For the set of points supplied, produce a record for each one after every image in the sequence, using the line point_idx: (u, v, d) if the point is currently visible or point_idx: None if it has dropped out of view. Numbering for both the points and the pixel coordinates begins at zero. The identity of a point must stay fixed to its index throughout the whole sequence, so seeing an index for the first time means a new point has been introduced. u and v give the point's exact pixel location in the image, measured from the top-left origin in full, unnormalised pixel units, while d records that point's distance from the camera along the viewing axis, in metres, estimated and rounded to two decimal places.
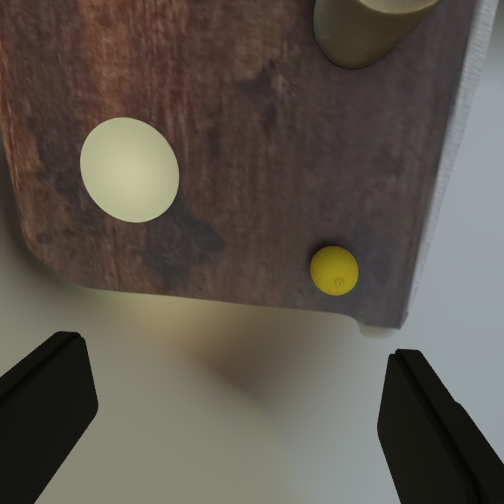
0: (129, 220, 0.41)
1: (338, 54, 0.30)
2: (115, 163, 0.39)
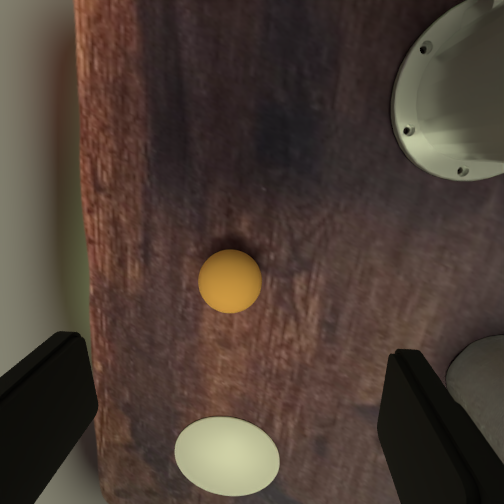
0: (218, 493, 0.39)
1: None
2: (213, 450, 0.37)
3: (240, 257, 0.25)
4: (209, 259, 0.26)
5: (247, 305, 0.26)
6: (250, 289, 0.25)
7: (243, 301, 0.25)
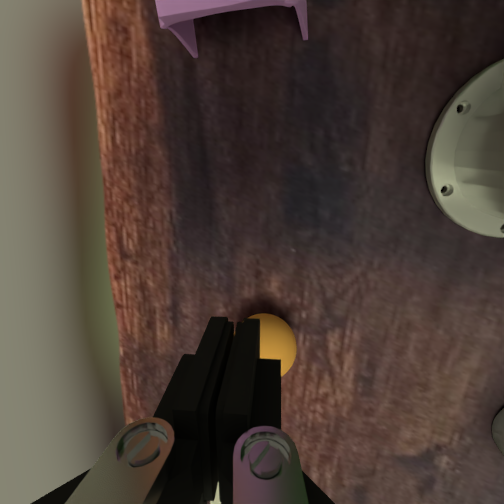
0: None
1: None
2: None
3: (274, 325, 0.25)
4: None
5: (283, 374, 0.25)
6: (286, 360, 0.24)
7: None
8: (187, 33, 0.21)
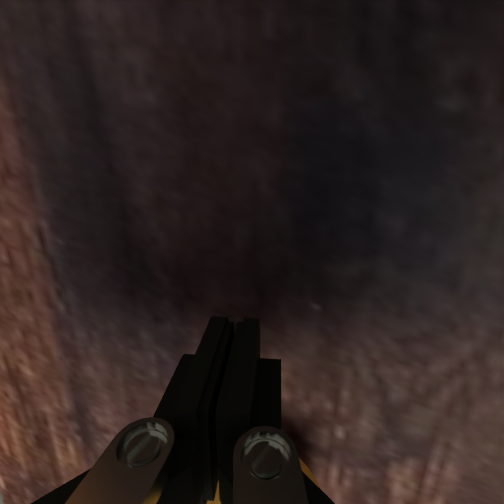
0: None
1: None
2: None
3: None
4: None
5: None
6: None
7: None
8: None
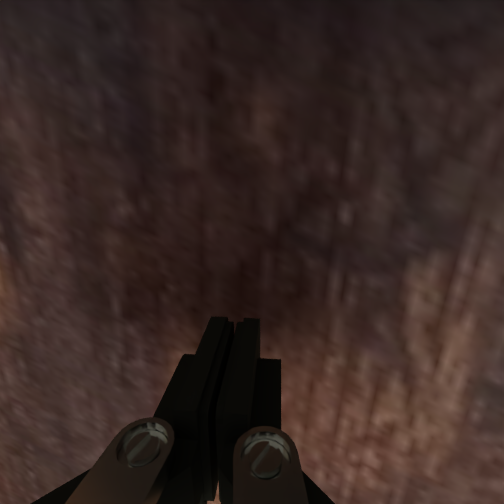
0: None
1: None
2: None
3: None
4: None
5: None
6: None
7: None
8: None
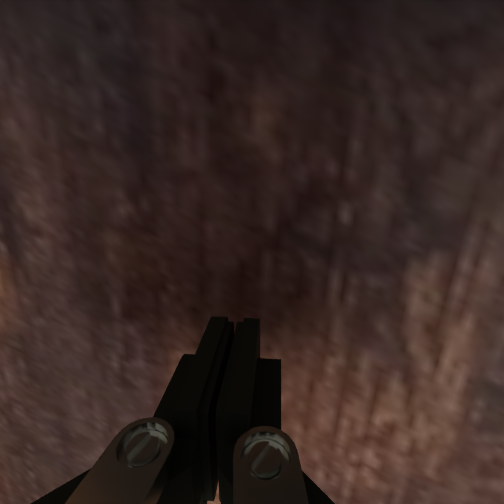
0: None
1: None
2: None
3: None
4: None
5: None
6: None
7: None
8: None
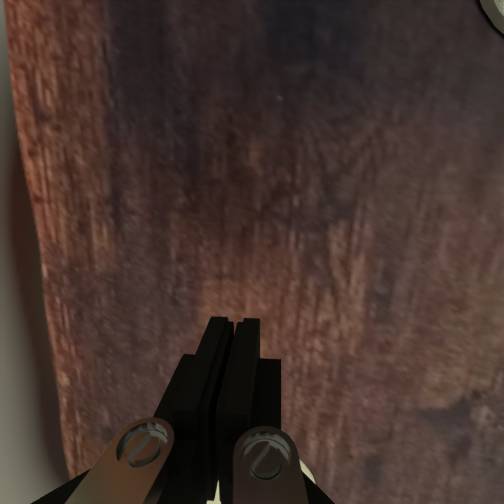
0: None
1: None
2: None
3: None
4: None
5: None
6: None
7: None
8: None
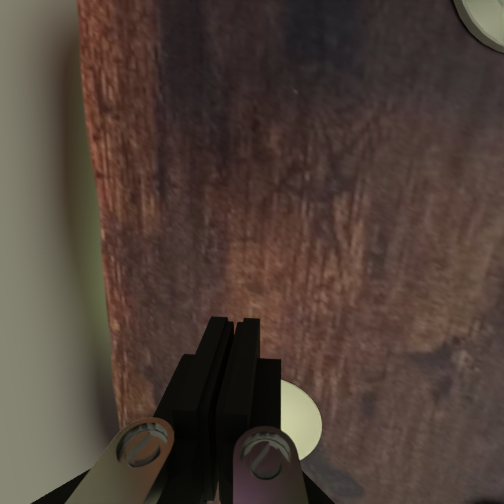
0: None
1: None
2: None
3: None
4: None
5: None
6: None
7: None
8: None
